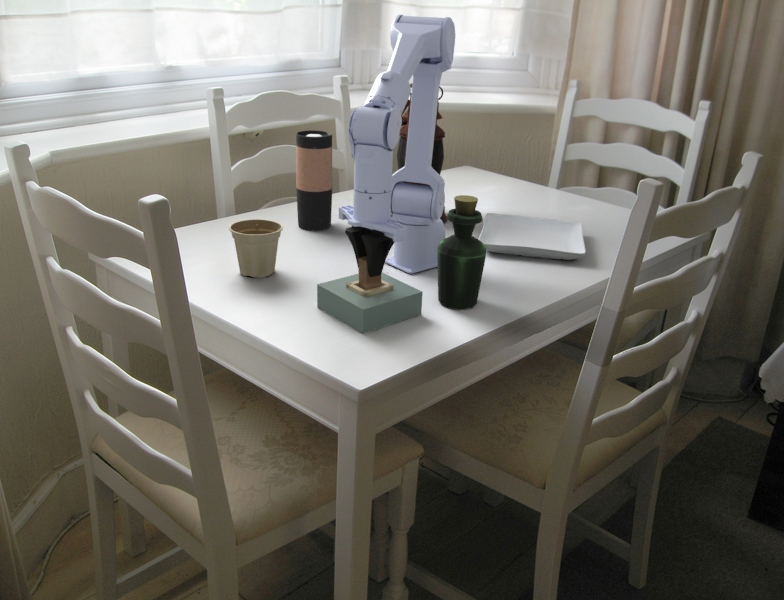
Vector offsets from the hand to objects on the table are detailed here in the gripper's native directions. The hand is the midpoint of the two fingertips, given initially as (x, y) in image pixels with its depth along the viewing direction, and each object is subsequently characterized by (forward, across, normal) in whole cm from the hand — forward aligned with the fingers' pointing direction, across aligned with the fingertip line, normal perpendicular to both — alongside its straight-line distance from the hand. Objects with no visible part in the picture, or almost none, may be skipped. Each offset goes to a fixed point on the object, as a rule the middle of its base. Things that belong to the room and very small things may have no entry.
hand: (370, 273), depth 112 cm
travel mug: (+7, -42, +18) cm, 46 cm away
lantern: (+7, -34, +41) cm, 54 cm away
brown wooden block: (+5, 0, 0) cm, 5 cm away
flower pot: (+7, -25, -6) cm, 27 cm away
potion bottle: (+7, +6, +14) cm, 17 cm away
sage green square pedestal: (+7, 0, 0) cm, 7 cm away
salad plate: (+7, -7, +49) cm, 50 cm away
